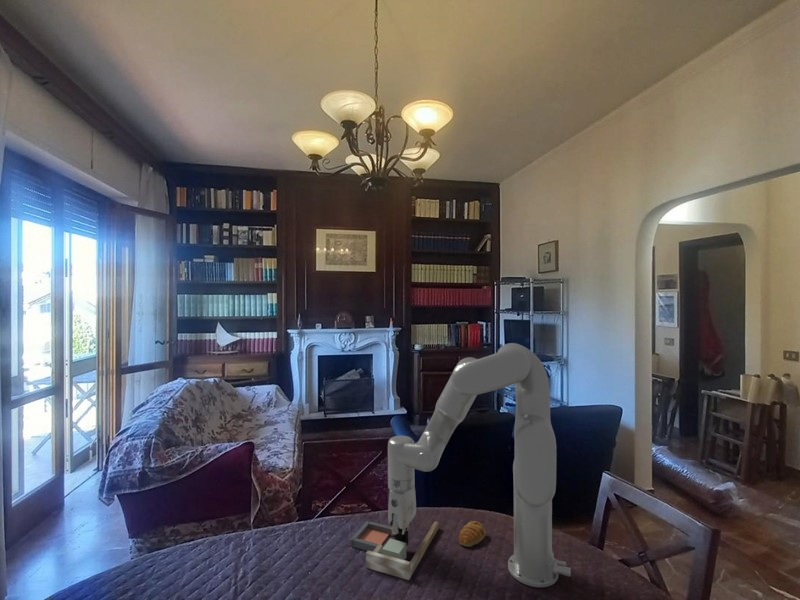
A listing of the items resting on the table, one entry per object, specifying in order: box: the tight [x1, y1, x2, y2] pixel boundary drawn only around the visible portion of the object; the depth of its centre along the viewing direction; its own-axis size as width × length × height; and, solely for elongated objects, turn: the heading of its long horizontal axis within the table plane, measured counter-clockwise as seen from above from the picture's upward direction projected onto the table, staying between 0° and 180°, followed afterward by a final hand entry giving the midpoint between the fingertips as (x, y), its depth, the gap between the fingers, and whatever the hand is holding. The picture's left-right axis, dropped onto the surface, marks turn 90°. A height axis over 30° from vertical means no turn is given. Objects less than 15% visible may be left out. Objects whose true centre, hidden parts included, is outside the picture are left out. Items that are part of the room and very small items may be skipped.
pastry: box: [458, 520, 487, 548], centre depth 121 cm, size 9×7×4 cm
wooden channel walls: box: [365, 521, 440, 581], centre depth 118 cm, size 12×25×4 cm, turn 157°
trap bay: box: [349, 520, 392, 552], centre depth 121 cm, size 9×10×2 cm
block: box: [381, 538, 407, 561], centre depth 112 cm, size 5×5×4 cm
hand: (401, 545), depth 116 cm, fingers closed
